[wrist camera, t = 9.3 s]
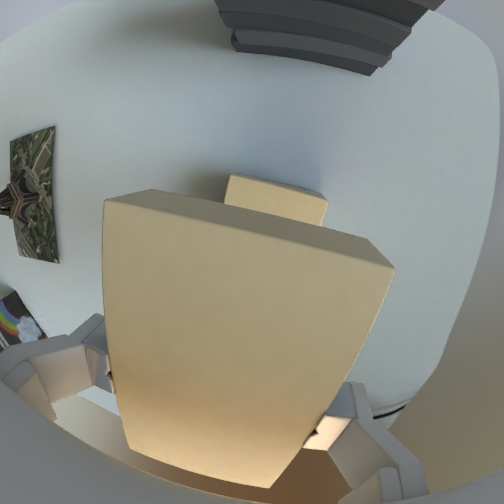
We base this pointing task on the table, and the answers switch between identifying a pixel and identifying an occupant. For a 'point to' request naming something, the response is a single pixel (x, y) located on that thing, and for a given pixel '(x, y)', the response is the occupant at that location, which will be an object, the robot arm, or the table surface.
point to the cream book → (230, 328)
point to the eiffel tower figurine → (32, 195)
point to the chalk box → (16, 323)
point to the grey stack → (324, 29)
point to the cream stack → (275, 199)
